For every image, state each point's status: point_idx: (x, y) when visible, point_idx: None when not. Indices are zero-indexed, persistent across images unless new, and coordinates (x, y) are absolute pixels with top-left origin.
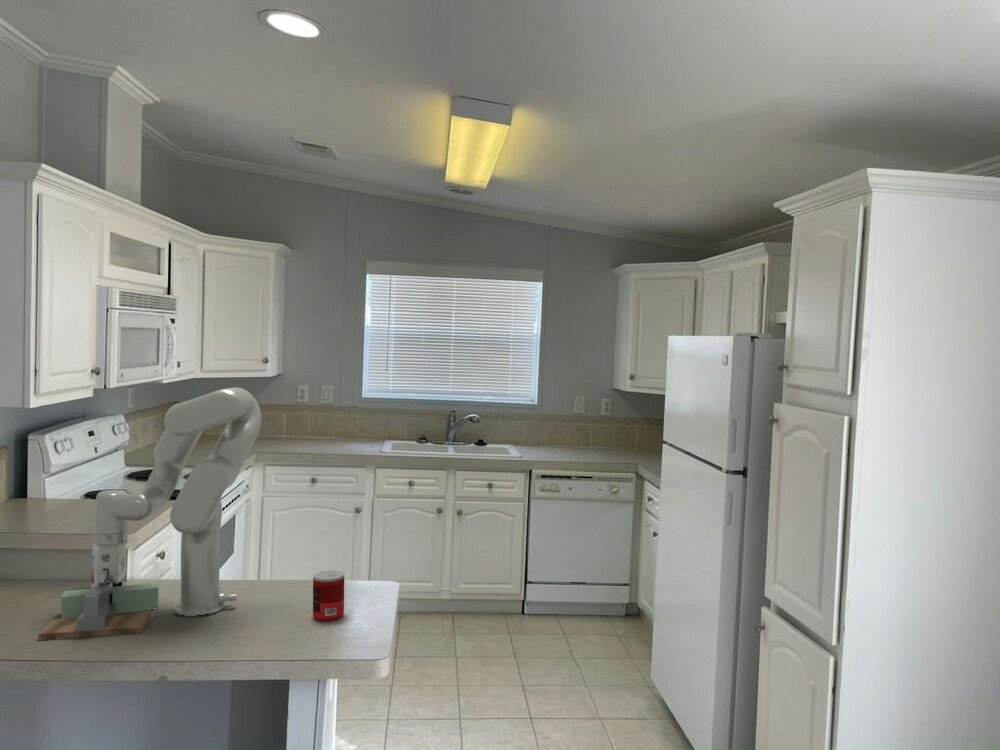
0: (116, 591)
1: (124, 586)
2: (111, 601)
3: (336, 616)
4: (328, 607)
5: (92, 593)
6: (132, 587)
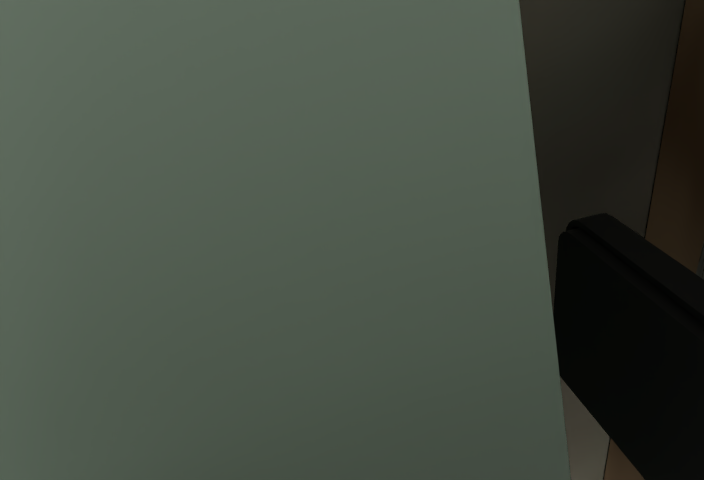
0: (531, 404)
1: (56, 462)
2: (690, 271)
3: None
4: None
5: None
6: (134, 156)
